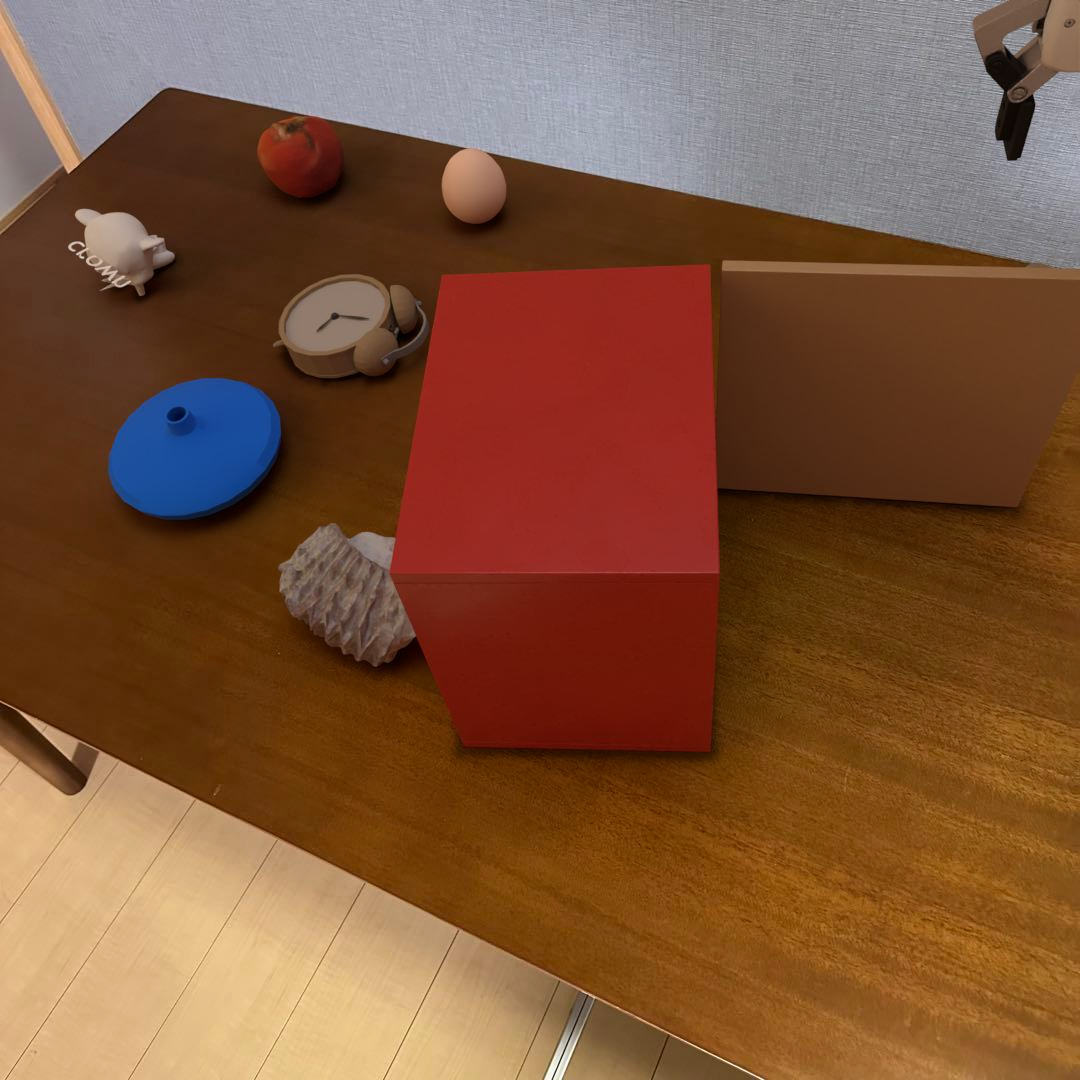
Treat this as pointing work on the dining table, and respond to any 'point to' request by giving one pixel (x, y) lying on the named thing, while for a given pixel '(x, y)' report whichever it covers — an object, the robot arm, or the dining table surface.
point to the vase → (195, 448)
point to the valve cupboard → (567, 509)
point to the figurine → (121, 248)
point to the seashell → (347, 593)
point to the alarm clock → (349, 326)
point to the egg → (473, 186)
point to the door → (892, 378)
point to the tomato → (301, 156)
